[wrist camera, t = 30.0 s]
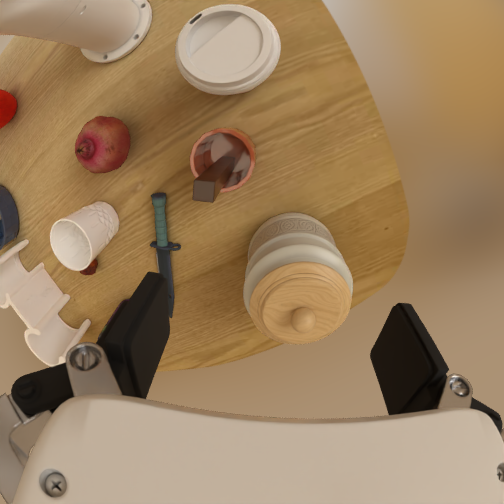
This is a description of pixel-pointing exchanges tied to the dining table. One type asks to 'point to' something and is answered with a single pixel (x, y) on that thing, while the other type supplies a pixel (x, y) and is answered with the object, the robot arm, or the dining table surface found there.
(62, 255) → the white cup
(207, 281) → the dining table surface
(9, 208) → the bowl
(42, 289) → the bracket
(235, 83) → the coffee cup
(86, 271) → the meatball
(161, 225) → the knife
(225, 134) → the holder
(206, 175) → the stick
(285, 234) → the jar
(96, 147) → the fruit
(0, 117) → the apple
